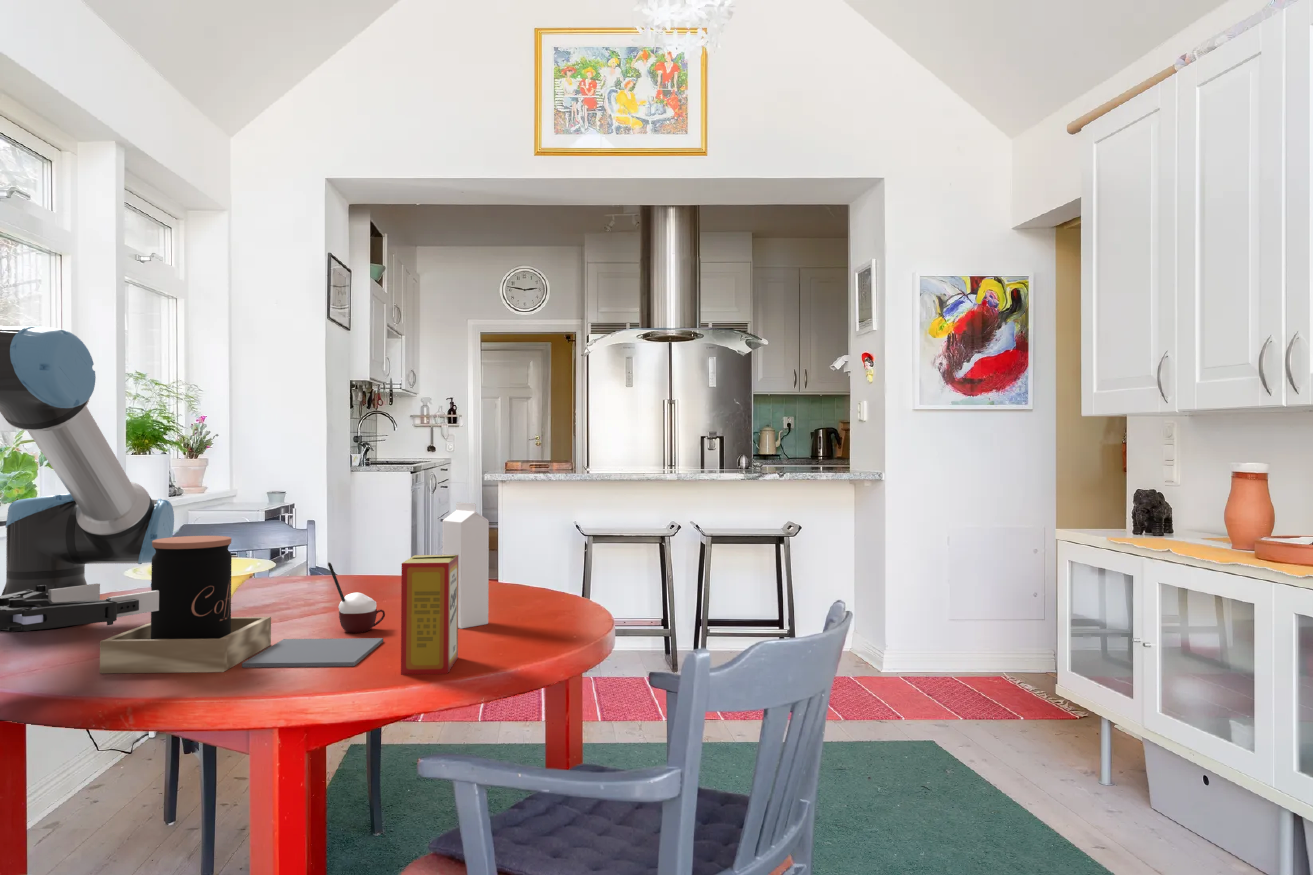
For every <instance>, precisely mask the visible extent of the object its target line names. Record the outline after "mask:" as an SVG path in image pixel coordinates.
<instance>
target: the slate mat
mask: <svg viewBox="0 0 1313 875" xmlns="http://www.w3.org/2000/svg"><path fill="white" fill-rule="evenodd" d="M383 642H384V638H383V637H375V638H373V637H372V638H371V637H370V638H369V637H367V638H364V637H363V638H361V637H359V638H352V637H351V638H348V637H347V638H346V637H344V638H343V637H342V638H283V639H281V640H280V641H278V642H276V643H274V644H272V645H270V647H269V646H268V647H266V648H265V649H263V651H262V650H261V651H260V652H258V653H256V654H254V655H253V656H251V657H249V659H248V658H247V659H246V660H244V661H242V662H241V668H304V667H305V668H306V667H307V668H313V667H315V668H317V667H322V668H323V667H355V666H356V665H358V663H360V662H361V661H362V660H364V658H366V657H367V656H368V655H369V654H370V653H372V652H373V651H374V650H375V649H377V647H379V646H380V645H381V644H383Z"/></svg>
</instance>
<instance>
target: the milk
mask: <svg viewBox="0 0 1313 875" xmlns="http://www.w3.org/2000/svg"><path fill="white" fill-rule="evenodd" d="M455 504H456V505H455V511H452V513H451V514H448V516H446V517H445V518H443V519H442V554H441V555H458V629H467V628H472V627H477V626H483V625H484V626H485V625H488V624H489V573H490V572H489V567H490V566H489V562H490V560H489V555H490V553H489V552H490V551H489V550H490V548H489V546H490V545H489V544H490V543H489V542H490V538H489V537H490V534H489V532H490V526H489V525H490V522H489V519H488V518H486V517H485V516H483V515H482V514H480V513H479V512H478V511H477V510H476V508H477V505H476V503H473V502H461V501H457V502H456V503H455Z"/></svg>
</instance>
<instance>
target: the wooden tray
mask: <svg viewBox="0 0 1313 875" xmlns="http://www.w3.org/2000/svg"><path fill="white" fill-rule="evenodd" d="M269 646H270V647H271V646H272V616H231V634H228V635H226V636H224V637H222V638H220V639H151V621H150V622H148V623H146V624H142V625H140V626H138V627H137V626H136V627H134V628H131V629H129V630H126V631H124V632H121V633H118V634H115V635H113V636H111V637H108V638H105V639H102V640H100V641H99V674H145V673H146V674H149V673H151V674H152V673H153V674H156V673H157V674H160V673H163V674H164V673H170V674H171V673H224V672H227V670H230V669H231V668H234V666H237V665H238V664H240V663H243V662H245V661H246V660H248V658H249V659H250V658H251V657H253V656H255V655H257V654H258V653H260V652H262V650H263V651H264V650H265V649H267V648H269Z"/></svg>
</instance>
